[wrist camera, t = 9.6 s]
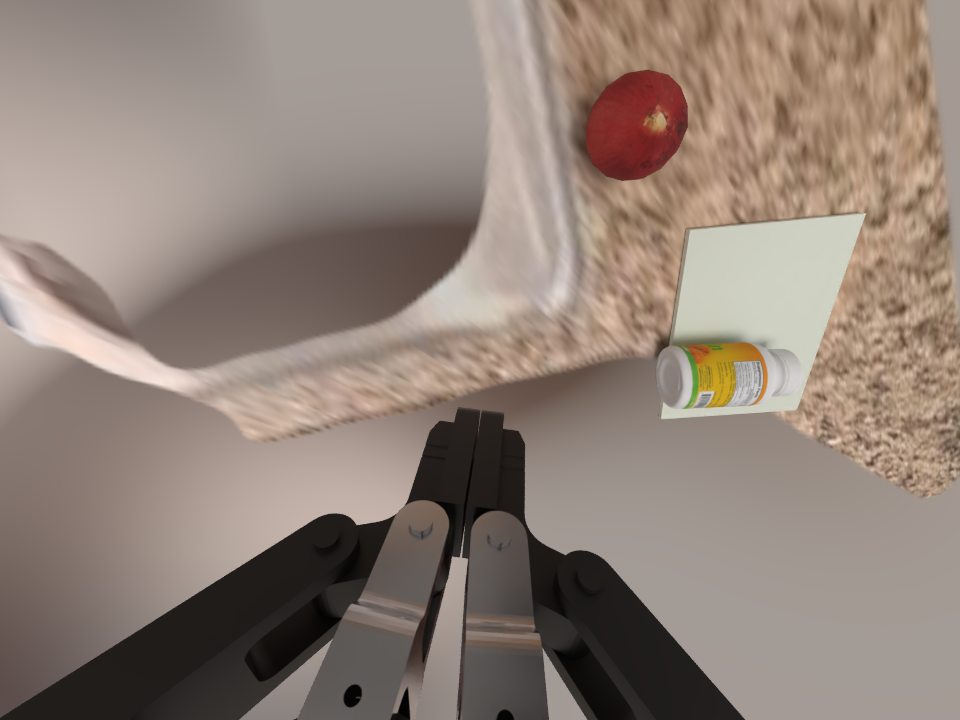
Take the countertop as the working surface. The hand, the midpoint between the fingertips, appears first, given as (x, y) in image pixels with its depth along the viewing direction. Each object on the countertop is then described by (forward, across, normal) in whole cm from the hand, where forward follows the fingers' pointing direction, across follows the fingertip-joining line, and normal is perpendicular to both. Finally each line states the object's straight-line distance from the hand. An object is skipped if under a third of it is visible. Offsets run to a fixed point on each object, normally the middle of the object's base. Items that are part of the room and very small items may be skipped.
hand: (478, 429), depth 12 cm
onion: (+23, -7, -8) cm, 25 cm away
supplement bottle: (+18, -15, +9) cm, 25 cm away
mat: (+23, -22, +5) cm, 32 cm away
